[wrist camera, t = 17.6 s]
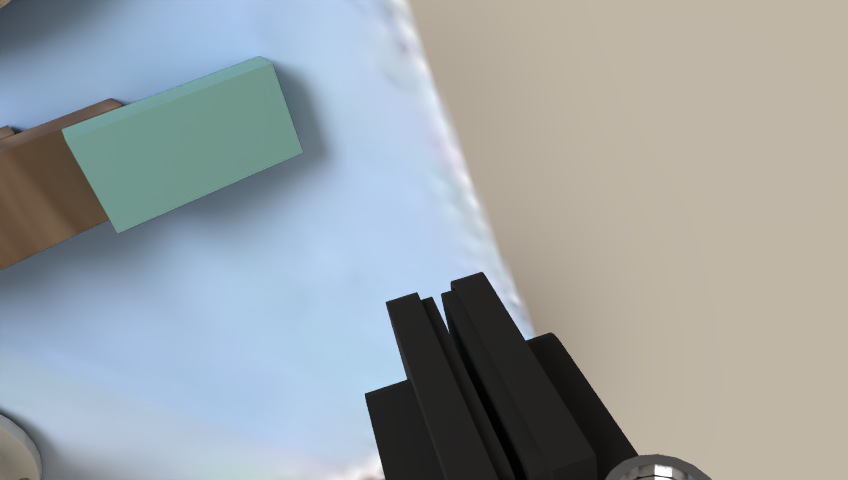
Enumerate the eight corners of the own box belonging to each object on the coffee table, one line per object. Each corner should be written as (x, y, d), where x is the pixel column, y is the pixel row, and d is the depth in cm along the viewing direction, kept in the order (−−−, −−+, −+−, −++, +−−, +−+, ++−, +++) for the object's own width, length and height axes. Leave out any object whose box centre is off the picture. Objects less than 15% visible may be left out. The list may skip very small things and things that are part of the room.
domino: (121, 104, 32) (-111, 195, 27) (164, 193, 34) (-42, 289, 30) (110, 98, 33) (-112, 183, 29) (152, 183, 36) (-46, 273, 31)
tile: (289, 142, 36) (111, 218, 33) (258, 56, 34) (61, 129, 30) (303, 152, 35) (117, 233, 31) (271, 62, 32) (65, 140, 29)
